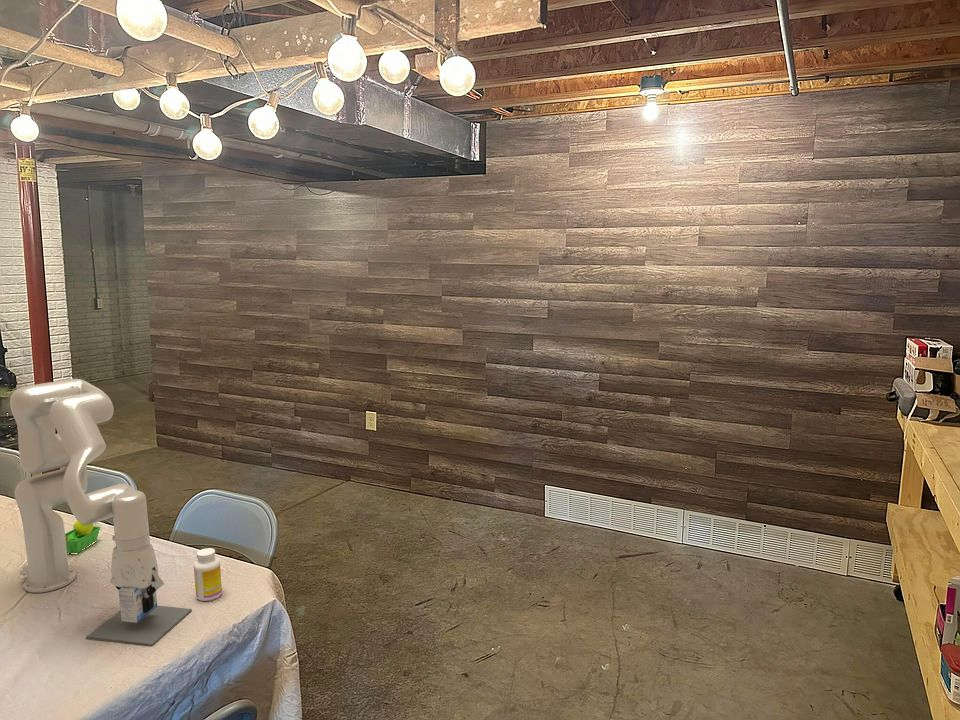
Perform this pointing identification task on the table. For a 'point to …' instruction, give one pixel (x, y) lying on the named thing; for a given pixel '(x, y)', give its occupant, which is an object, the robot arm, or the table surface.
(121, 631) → the mat
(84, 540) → the fruit basket
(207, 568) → the supplement bottle
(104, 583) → the table surface
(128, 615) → the medicine box
